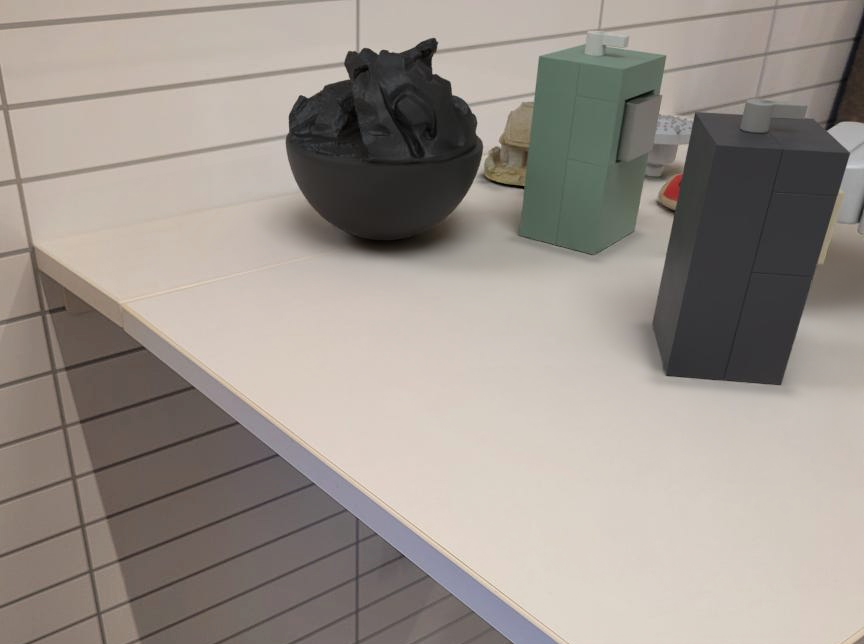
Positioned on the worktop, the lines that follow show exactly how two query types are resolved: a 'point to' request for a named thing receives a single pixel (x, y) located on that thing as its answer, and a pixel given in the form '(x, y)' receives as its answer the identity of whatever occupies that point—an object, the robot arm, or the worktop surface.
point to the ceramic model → (512, 148)
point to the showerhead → (667, 142)
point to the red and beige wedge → (670, 192)
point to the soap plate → (638, 126)
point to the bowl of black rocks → (384, 145)
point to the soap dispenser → (585, 144)
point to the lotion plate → (831, 227)
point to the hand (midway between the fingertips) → (755, 148)
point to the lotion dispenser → (745, 241)
